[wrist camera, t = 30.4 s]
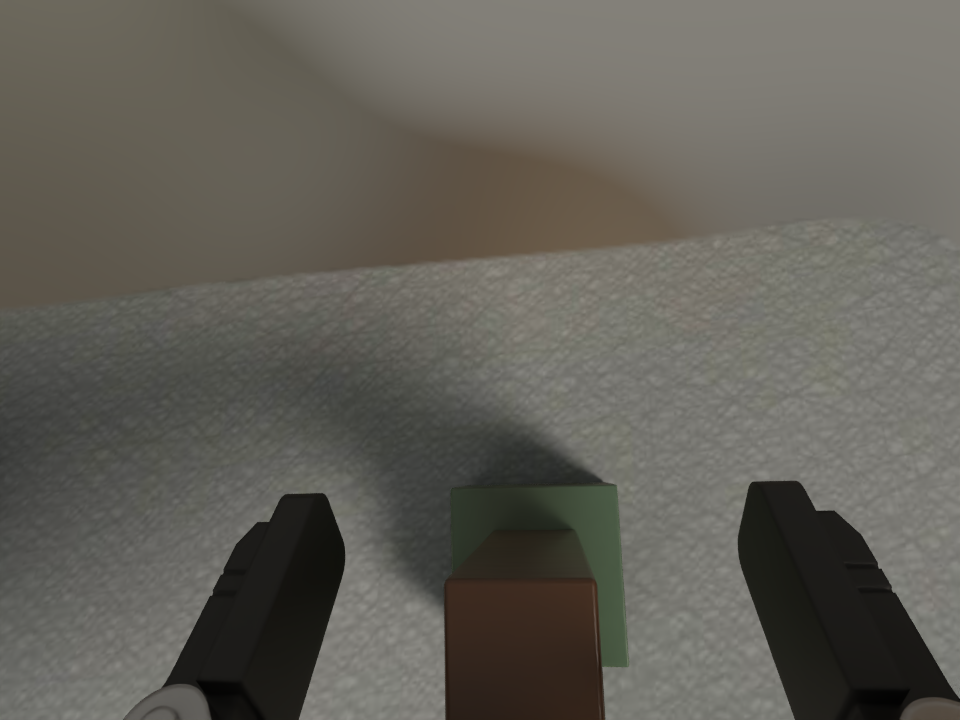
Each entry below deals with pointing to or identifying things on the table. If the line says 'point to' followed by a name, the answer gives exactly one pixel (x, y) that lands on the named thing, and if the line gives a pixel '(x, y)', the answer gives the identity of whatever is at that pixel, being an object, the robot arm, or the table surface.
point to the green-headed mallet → (533, 601)
